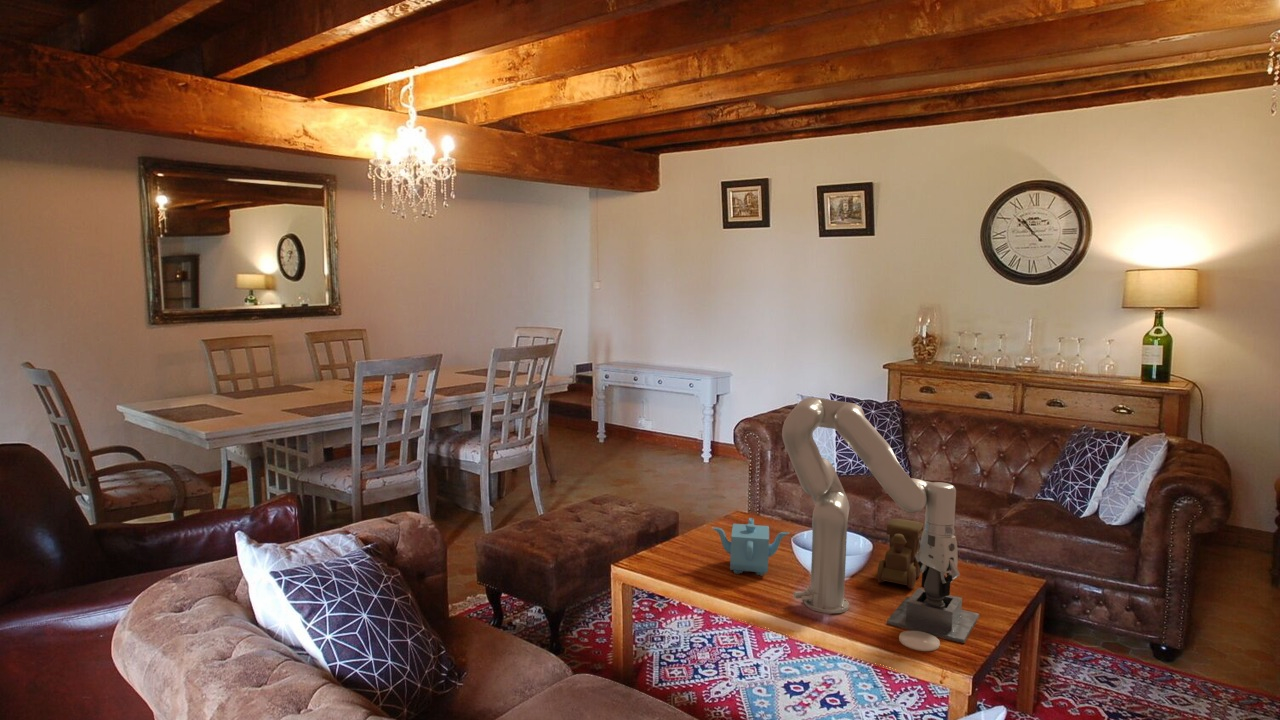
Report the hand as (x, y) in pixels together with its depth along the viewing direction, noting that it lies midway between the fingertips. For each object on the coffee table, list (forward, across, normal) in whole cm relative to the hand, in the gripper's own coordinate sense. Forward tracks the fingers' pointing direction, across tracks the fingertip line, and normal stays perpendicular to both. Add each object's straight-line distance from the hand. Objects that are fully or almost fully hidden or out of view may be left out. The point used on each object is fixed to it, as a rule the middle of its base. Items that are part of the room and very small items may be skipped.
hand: (935, 590), depth 218 cm
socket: (+9, 0, 0) cm, 9 cm away
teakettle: (+9, +53, +27) cm, 60 cm away
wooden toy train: (+9, +28, -13) cm, 32 cm away
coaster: (+9, -9, +13) cm, 18 cm away
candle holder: (+9, 0, 0) cm, 9 cm away
